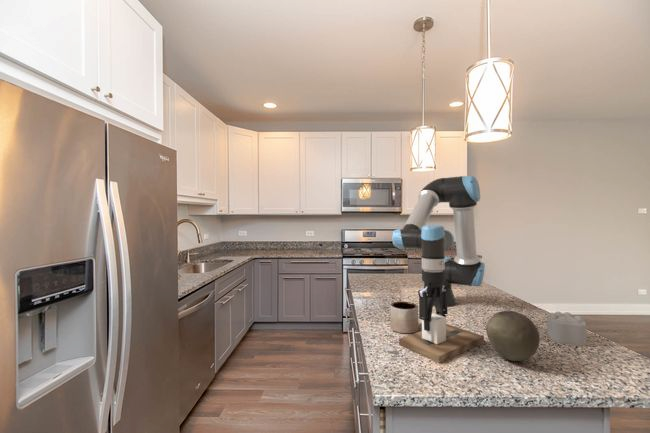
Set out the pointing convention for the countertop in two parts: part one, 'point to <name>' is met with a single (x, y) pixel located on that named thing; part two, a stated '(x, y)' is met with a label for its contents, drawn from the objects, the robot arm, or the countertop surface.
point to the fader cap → (437, 328)
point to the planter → (404, 317)
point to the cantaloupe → (513, 335)
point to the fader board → (442, 344)
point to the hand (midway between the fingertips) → (433, 337)
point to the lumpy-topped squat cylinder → (567, 329)
